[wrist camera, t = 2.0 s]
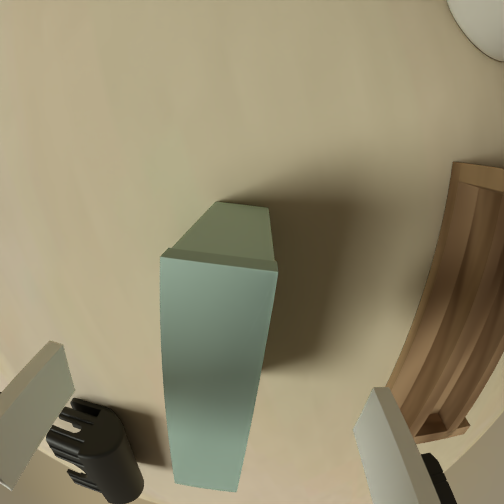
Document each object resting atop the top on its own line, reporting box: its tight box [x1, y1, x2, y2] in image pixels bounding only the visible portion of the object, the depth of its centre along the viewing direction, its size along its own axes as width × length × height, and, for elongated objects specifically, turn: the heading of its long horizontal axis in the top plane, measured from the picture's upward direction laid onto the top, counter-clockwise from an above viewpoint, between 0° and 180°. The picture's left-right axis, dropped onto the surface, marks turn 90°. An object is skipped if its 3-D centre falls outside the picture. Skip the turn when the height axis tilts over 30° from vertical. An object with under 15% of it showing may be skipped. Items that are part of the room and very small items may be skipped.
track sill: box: [386, 162, 504, 444], centre depth 15 cm, size 10×22×10 cm, turn 173°
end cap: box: [46, 398, 144, 504], centre depth 21 cm, size 10×7×7 cm
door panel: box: [160, 202, 278, 492], centre depth 14 cm, size 3×12×10 cm, turn 173°
